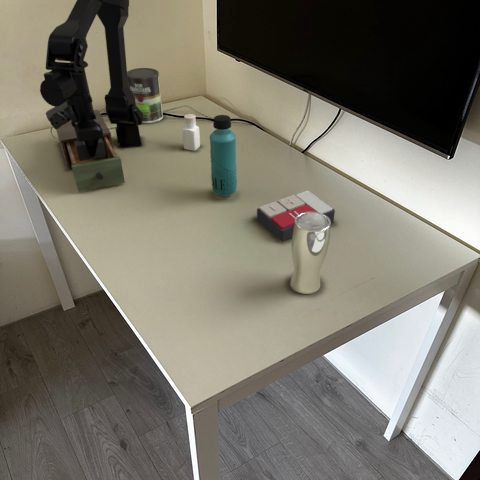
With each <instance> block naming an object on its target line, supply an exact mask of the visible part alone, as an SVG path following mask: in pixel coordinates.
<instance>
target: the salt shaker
mask: <svg viewBox="0 0 480 480" xmlns="http://www.w3.org/2000/svg"><path fill="white" fill-rule="evenodd" d="M196 118H197V117H196V115H195V114H193V113H187V114H185V115H184V117H183V119H184V126H183V127H182V129H181V130H182V142H183V149H184V150H188V151H193V152H194V151H197V150H198V149H199V148H200V147H201V137H200V136H201V135H200V127H199V126H198V125H197V123H196V122H197V119H196Z"/></svg>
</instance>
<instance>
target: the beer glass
mask: <svg viewBox="0 0 480 480" xmlns="http://www.w3.org/2000/svg"><path fill="white" fill-rule="evenodd" d="M331 225H332V224H331V221H330V219H329V218H328V217H327V216H326V215H324V214H322V213H318V212H304V213H301V214H299V215H297V216H296V218H295V222H294V227H293V233H292V238H291V255H292V264H293V265H292V266H293V269H292V270H293V271H292V274H291V278H290V282H289V285H290V288H291V289H292V290H293V291H295V292H297V293H299V294H302V295H309V294H314V293H317V291H319V289H320V287H321V270H322V266H323V264H324V262H325V259H326V256H327V253H328V249H329V245H330V238H331Z"/></svg>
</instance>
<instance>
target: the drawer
mask: <svg viewBox="0 0 480 480" xmlns="http://www.w3.org/2000/svg"><path fill="white" fill-rule="evenodd" d="M102 140H103V143H104V147H105V152H106V157H101V158H95V159H89V160H84V161H80V160H79V158H78V155H77V151H76V147H75V143H74V141H70V142H66V146H67V150H68V153H69V157H70V161H71V164H72V165H71V166H72V169H71V170H72V173H73V177H74V181H75V183H76V184H75V185H76V189H77V191H78V192H83V191H89V190H93V189H99V188H104V187H109V186H114V185H115V186H116V185H119V184H125V183H126V180H125V176H124V169H123V165H122V159H121V157H120V156H117V155H116V152H115V150H113V149H114V147H113V148H112V146H111V144H110V142H109V141H108V139H107V137H106V136H104V137H103V138H102ZM77 141H78V140H77Z"/></svg>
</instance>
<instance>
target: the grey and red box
mask: <svg viewBox="0 0 480 480" xmlns="http://www.w3.org/2000/svg"><path fill="white" fill-rule="evenodd" d="M304 212H318V213H322V214H324V215H326V216H327V217H328V218H329V219H330V221H331V224H330V225H332V224H334V222H335V213H336V209H334V208H333V207H331V206H330V205H329V204H327V203H326V202H325V201H323V200H322V199H321V198H320V197H318V196H317V195H315V194H314V193H312V192H311V191H310V190H304V191H302V192H299V193H296V194H292V195H289V196H286V197H284V198H281V199H278V200H277V201H273V202H272V201H271V202H269V203H267V204H264V205H261V206H259V207H258V208H256V220H257V221H258V222H259V223H260V224H261V225H262V226H263V227H265V228H266V229H267V231H269V232H270V233H271V234H273V235H274V236H275V237H276V238H277V239H278V240H279V241H281V242H284V241H285V242H286V241H288V240H289V239H292V233H293V227H294V222H295V218H296V216H297V215H299V214H301V213H304Z"/></svg>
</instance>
